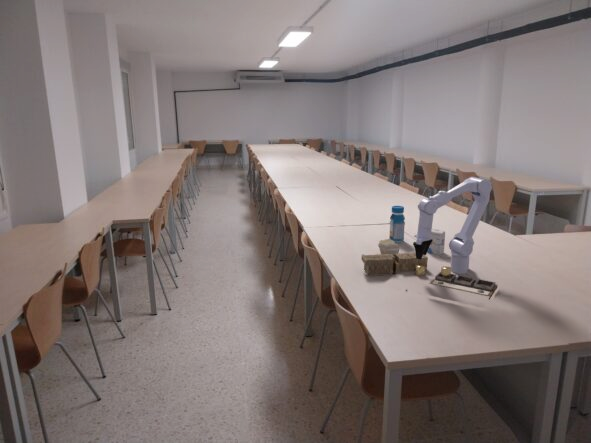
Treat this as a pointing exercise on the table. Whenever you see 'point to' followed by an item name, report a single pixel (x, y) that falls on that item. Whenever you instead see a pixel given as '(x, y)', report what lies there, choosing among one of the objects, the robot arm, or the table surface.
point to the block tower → (392, 263)
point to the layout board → (466, 284)
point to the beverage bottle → (397, 224)
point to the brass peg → (420, 270)
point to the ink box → (437, 242)
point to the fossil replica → (388, 247)
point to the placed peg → (446, 272)
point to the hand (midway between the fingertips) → (421, 256)
